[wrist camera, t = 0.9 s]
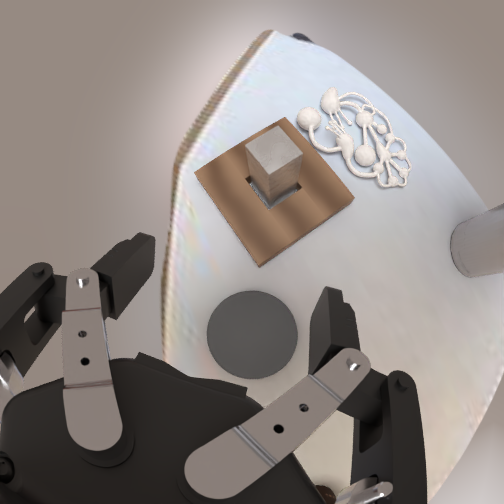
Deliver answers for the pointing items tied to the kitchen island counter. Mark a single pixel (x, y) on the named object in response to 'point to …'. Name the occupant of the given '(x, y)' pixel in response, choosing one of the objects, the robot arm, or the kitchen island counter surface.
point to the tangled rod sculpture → (363, 153)
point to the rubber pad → (252, 335)
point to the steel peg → (273, 166)
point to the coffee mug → (326, 494)
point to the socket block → (283, 214)
